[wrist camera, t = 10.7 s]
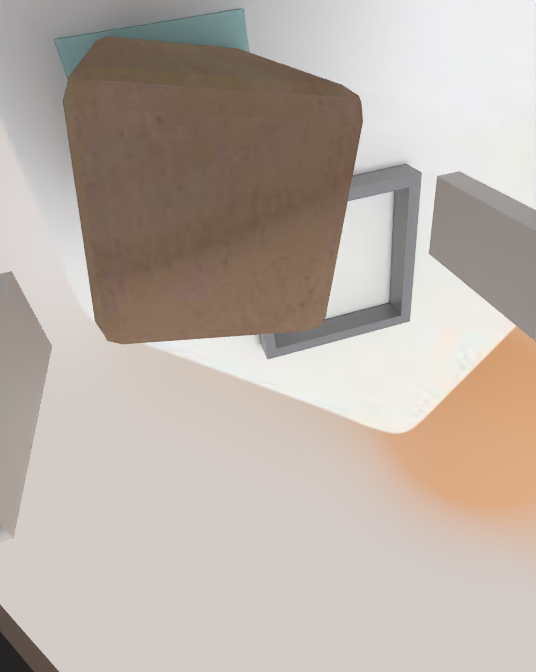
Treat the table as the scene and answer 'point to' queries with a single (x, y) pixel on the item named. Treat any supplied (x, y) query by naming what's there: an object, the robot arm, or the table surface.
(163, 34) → the board
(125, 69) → the wooden block
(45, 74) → the table surface
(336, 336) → the gray square frame
